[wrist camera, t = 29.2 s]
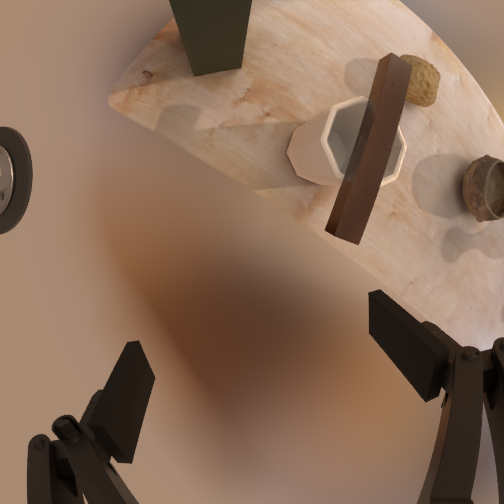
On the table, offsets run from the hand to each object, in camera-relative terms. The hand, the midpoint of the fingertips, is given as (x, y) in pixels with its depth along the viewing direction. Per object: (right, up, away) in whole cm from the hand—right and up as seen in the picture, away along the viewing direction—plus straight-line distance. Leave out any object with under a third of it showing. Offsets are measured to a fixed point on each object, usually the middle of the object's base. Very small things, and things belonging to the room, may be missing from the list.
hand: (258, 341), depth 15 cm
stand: (-7, +40, +25) cm, 47 cm away
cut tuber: (+29, +37, +29) cm, 55 cm away
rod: (+12, +17, +13) cm, 25 cm away
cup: (+11, +22, +31) cm, 40 cm away
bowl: (+50, +20, +35) cm, 64 cm away
